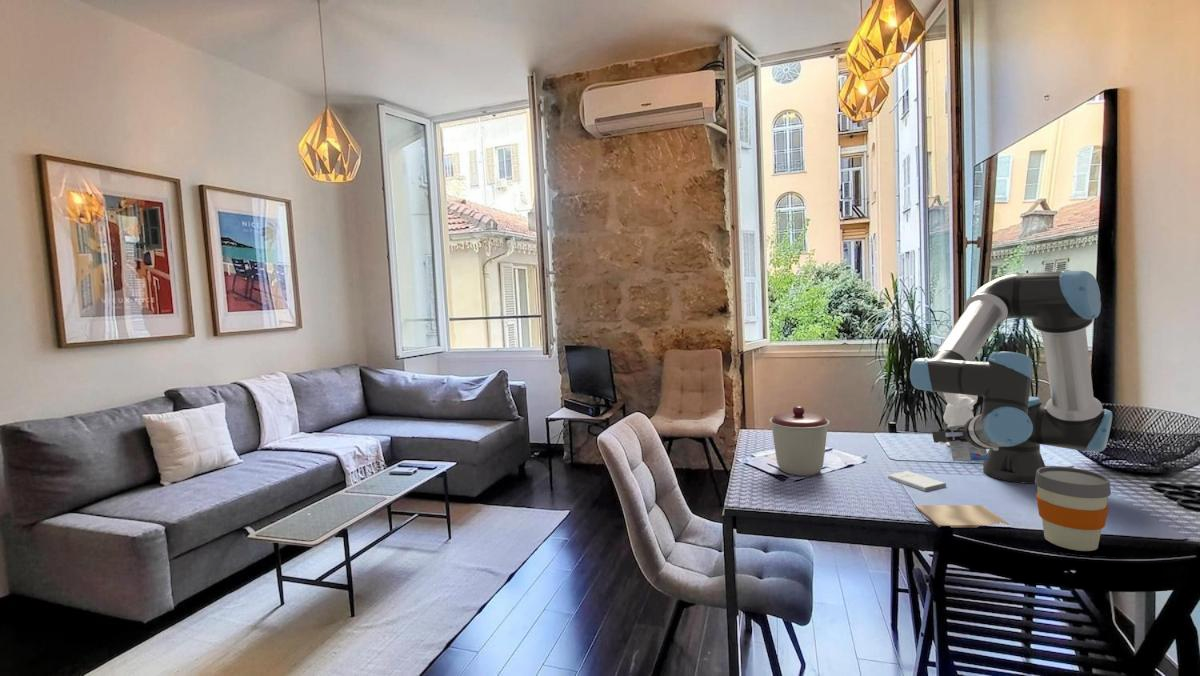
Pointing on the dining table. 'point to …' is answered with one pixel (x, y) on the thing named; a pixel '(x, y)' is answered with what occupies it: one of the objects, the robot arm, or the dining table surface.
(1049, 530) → the reusable coffee cup
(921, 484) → the external hard drive
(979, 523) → the cork mat
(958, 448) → the medicine box
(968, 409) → the cherub figurine
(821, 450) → the canister
